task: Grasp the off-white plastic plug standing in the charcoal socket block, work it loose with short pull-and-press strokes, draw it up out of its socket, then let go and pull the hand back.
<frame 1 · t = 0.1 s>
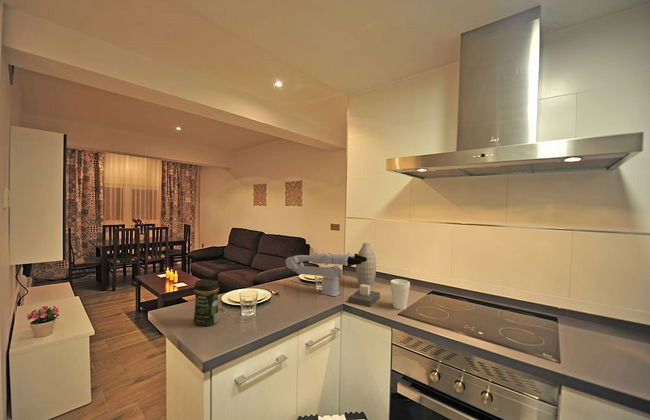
hand: (363, 260, 146), 22 cm above the worktop, tool horizontal, fingers open, 7 cm apart
coffee jar: (206, 323, 115), on the worktop
socket block: (364, 300, 146), on the worktop
vase: (365, 287, 169), on the worktop
foam cup: (399, 307, 136), on the worktop
plug: (364, 292, 146), point 4 cm above the worktop, slide at 0.0 cm
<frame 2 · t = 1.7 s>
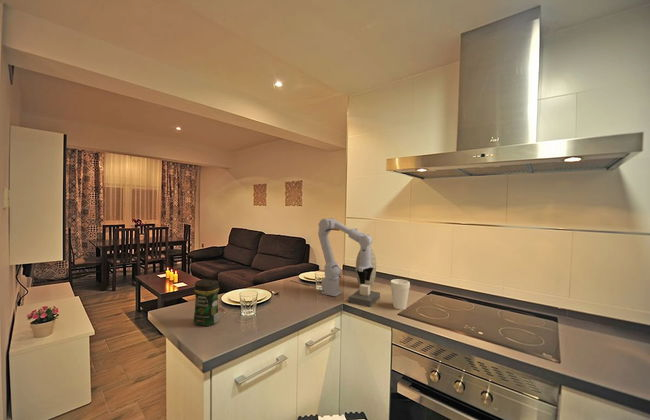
hand: (365, 282, 146), 10 cm above the worktop, tool pointing down, fingers open, 7 cm apart
nothing on the worktop moved.
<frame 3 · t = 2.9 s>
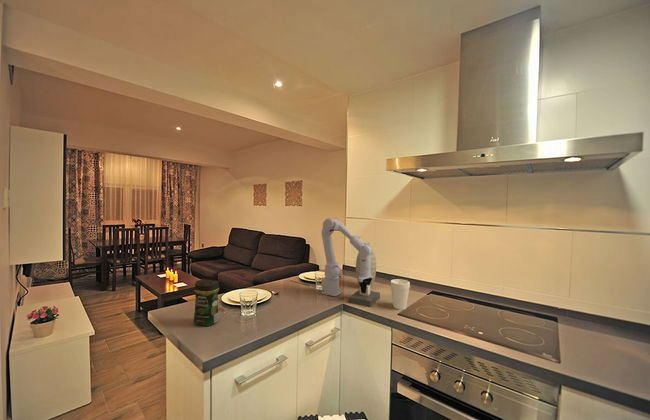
hand: (364, 292, 146), 4 cm above the worktop, tool pointing down, fingers closed on plug, 3 cm apart
plug: (364, 292, 146), point 4 cm above the worktop, slide at 0.0 cm, touching gripper
everything else where it was.
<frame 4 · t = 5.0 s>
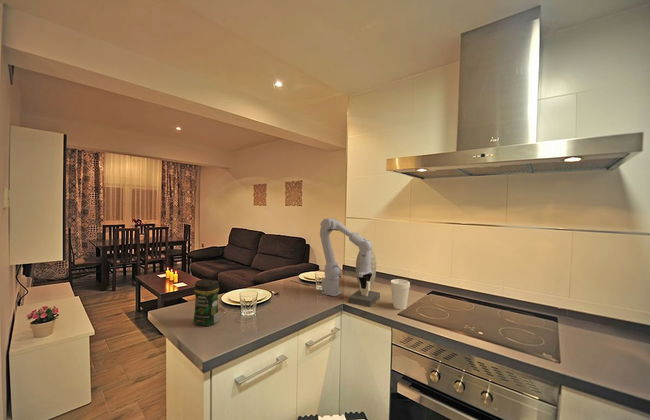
hand: (364, 287, 146), 7 cm above the worktop, tool pointing down, fingers closed on plug, 3 cm apart
plug: (364, 289, 146), point 6 cm above the worktop, slide at 2.1 cm, touching gripper
everything else where it was.
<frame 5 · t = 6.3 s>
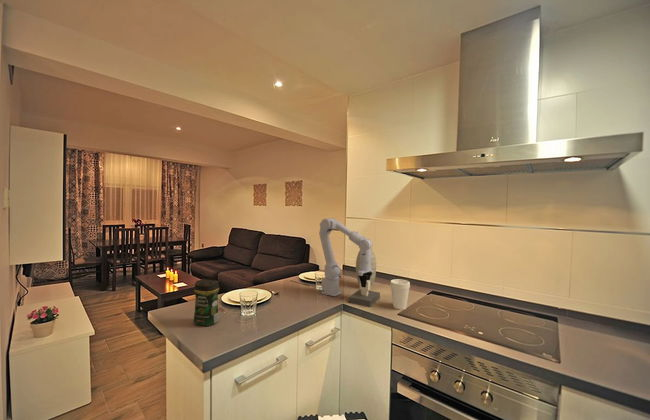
hand: (364, 286, 146), 8 cm above the worktop, tool pointing down, fingers closed on plug, 3 cm apart
plug: (364, 287, 146), point 7 cm above the worktop, slide at 2.7 cm, touching gripper
everything else where it was.
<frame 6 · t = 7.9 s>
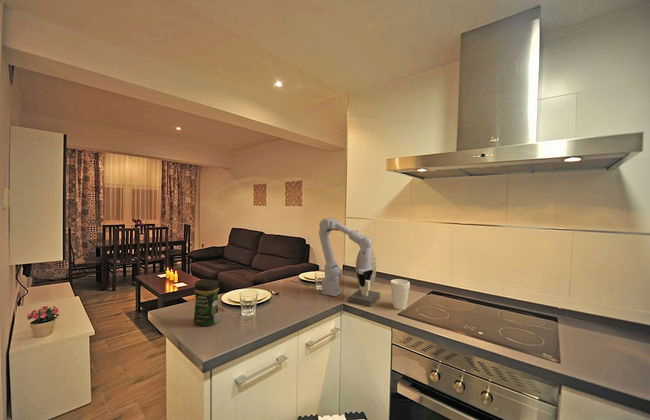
hand: (364, 284, 146), 9 cm above the worktop, tool pointing down, fingers open, 7 cm apart
plug: (364, 287, 146), point 7 cm above the worktop, slide at 2.7 cm
everything else where it was.
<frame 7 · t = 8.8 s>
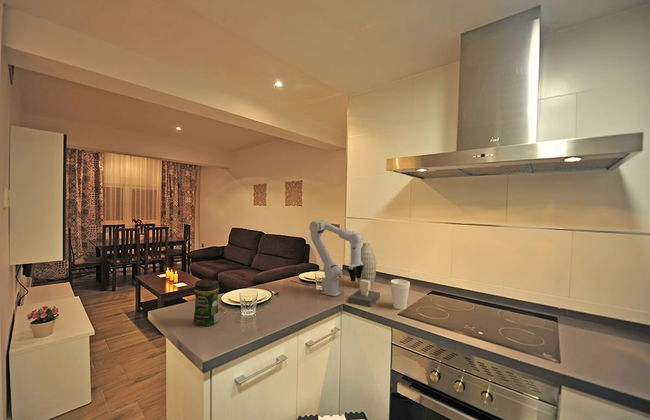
hand: (355, 279, 148), 10 cm above the worktop, tool pointing down, fingers open, 7 cm apart
nothing on the worktop moved.
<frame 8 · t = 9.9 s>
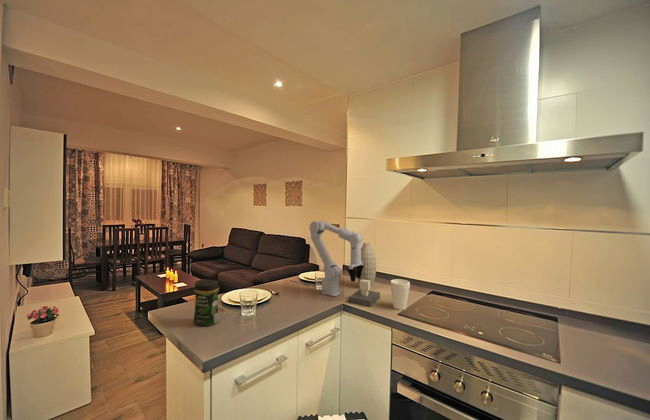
hand: (355, 279, 148), 10 cm above the worktop, tool pointing down, fingers open, 7 cm apart
nothing on the worktop moved.
at the end: plug slide at 2.7 cm; the gripper is holding nothing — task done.
